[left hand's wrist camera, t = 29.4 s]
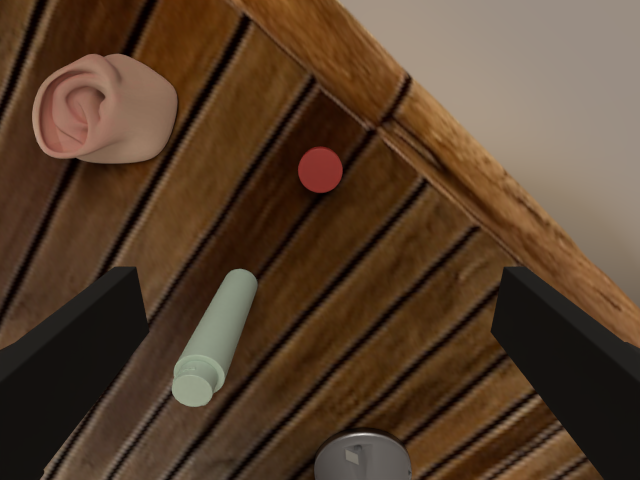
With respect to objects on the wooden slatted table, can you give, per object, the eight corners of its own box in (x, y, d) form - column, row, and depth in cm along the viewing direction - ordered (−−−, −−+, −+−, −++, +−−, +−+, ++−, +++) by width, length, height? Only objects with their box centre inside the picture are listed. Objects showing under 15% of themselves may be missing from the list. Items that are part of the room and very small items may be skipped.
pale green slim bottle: (217, 278, 45) (153, 383, 27) (245, 263, 44) (196, 361, 27) (236, 303, 46) (187, 419, 29) (263, 289, 45) (229, 398, 28)
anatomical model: (161, 57, 32) (163, 180, 36) (178, 63, 36) (178, 173, 40) (13, 34, 31) (31, 162, 35) (45, 42, 35) (59, 157, 39)
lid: (347, 179, 40) (348, 182, 38) (309, 195, 41) (308, 199, 39) (331, 139, 39) (332, 141, 37) (292, 156, 39) (290, 159, 37)
